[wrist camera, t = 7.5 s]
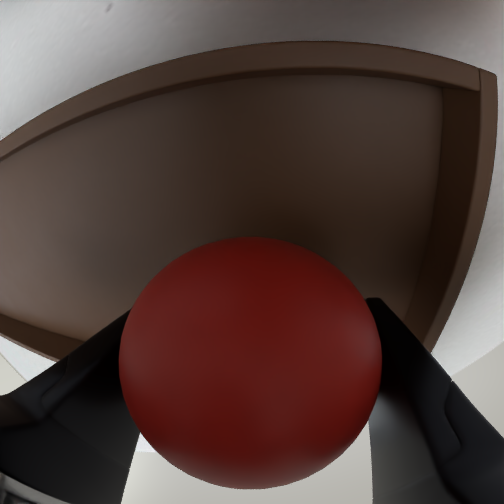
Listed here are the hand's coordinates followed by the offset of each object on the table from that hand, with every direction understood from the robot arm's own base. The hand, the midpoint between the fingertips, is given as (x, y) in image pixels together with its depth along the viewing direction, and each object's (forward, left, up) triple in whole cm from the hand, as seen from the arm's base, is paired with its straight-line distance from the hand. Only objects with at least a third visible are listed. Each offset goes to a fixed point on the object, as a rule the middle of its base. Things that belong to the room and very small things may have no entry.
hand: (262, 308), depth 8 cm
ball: (0, 0, -1) cm, 1 cm away
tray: (+9, +11, -2) cm, 14 cm away
